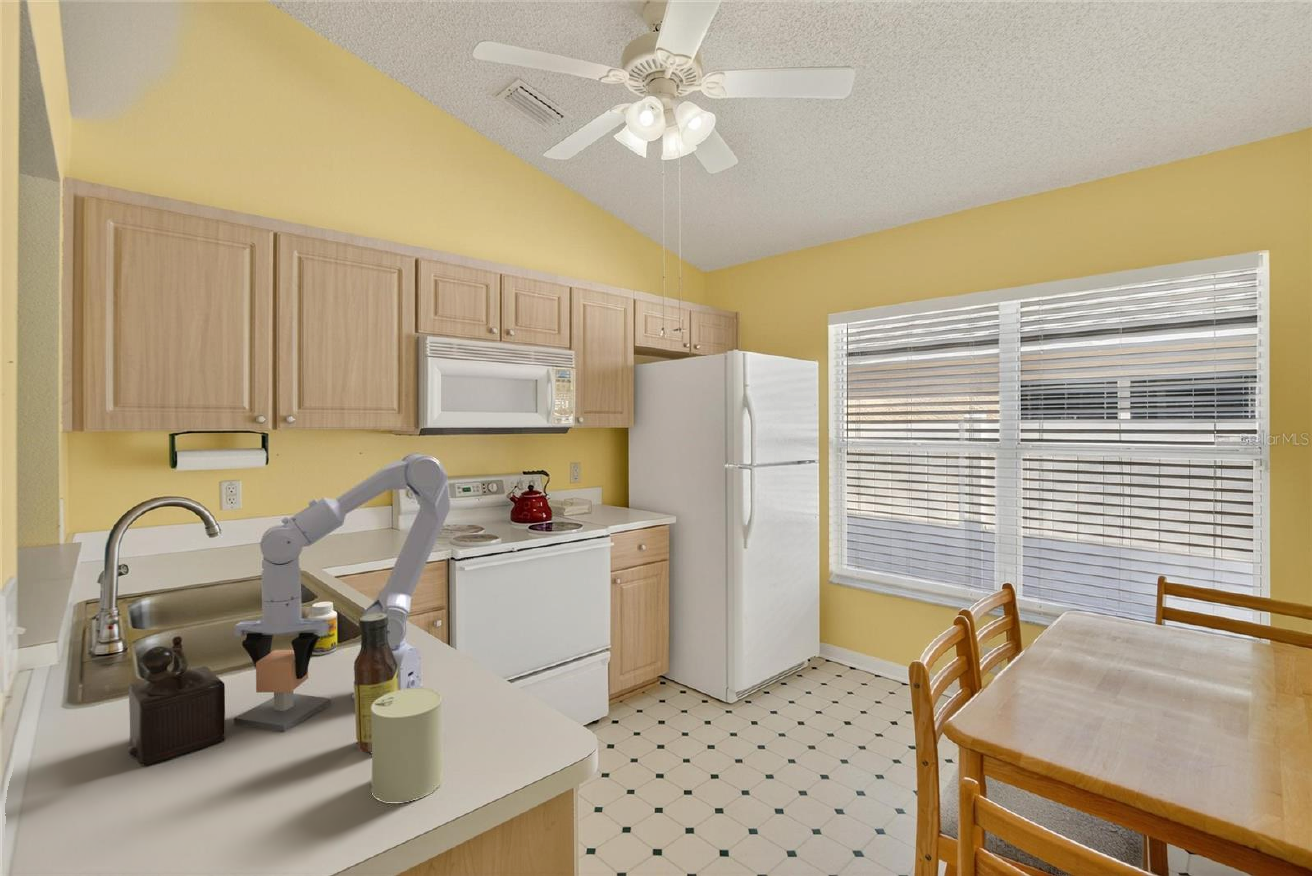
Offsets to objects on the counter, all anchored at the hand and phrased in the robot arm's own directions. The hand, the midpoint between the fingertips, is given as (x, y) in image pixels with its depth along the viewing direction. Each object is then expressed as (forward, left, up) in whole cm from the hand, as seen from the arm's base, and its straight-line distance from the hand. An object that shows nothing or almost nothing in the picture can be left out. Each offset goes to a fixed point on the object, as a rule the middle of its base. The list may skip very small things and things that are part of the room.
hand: (283, 676), depth 108 cm
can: (-33, +12, -7) cm, 36 cm away
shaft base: (0, 0, -6) cm, 6 cm away
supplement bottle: (+15, -26, -7) cm, 30 cm away
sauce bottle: (-22, +4, -7) cm, 23 cm away
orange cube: (0, 0, -1) cm, 1 cm away
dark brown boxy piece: (+6, +13, -7) cm, 16 cm away
